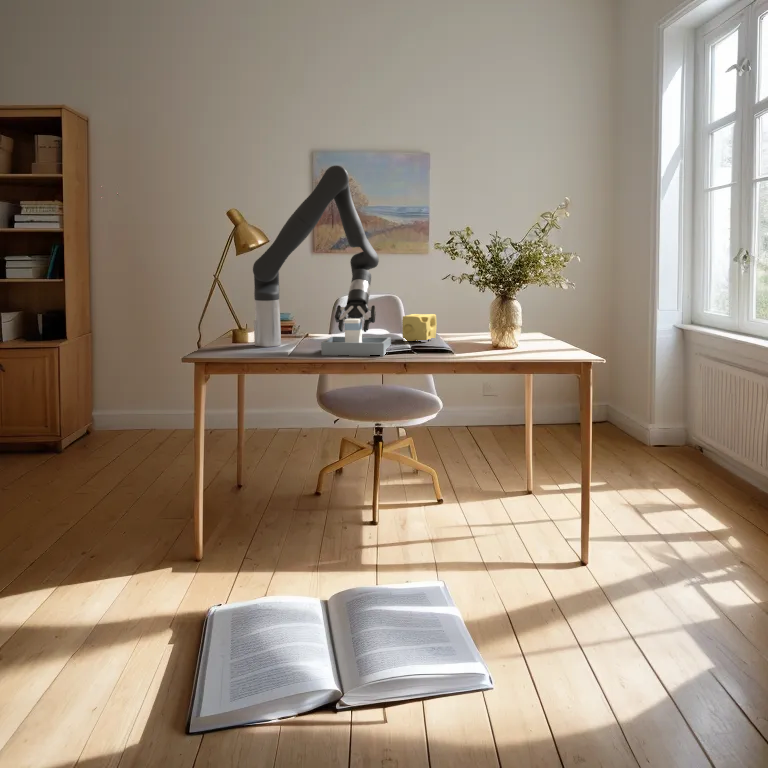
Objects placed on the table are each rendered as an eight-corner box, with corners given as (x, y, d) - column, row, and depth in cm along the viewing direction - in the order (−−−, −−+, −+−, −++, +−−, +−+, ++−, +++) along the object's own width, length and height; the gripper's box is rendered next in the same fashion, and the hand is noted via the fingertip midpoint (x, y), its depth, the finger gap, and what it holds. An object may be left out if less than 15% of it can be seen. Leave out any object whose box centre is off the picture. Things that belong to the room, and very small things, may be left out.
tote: (321, 355, 285) (321, 342, 284) (331, 348, 300) (331, 336, 299) (383, 356, 281) (383, 343, 280) (390, 349, 296) (390, 337, 295)
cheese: (426, 343, 311) (426, 316, 310) (400, 341, 316) (400, 315, 314) (437, 339, 321) (436, 313, 319) (411, 338, 325) (411, 313, 323)
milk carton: (345, 351, 289) (344, 319, 287) (348, 348, 294) (347, 318, 291) (359, 351, 288) (358, 320, 286) (362, 349, 293) (361, 318, 291)
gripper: (337, 288, 295) (331, 323, 286) (376, 288, 292) (371, 324, 284) (341, 301, 301) (335, 336, 292) (379, 301, 299) (374, 337, 290)
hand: (352, 330), depth 288 cm, fingers open, 8 cm apart
